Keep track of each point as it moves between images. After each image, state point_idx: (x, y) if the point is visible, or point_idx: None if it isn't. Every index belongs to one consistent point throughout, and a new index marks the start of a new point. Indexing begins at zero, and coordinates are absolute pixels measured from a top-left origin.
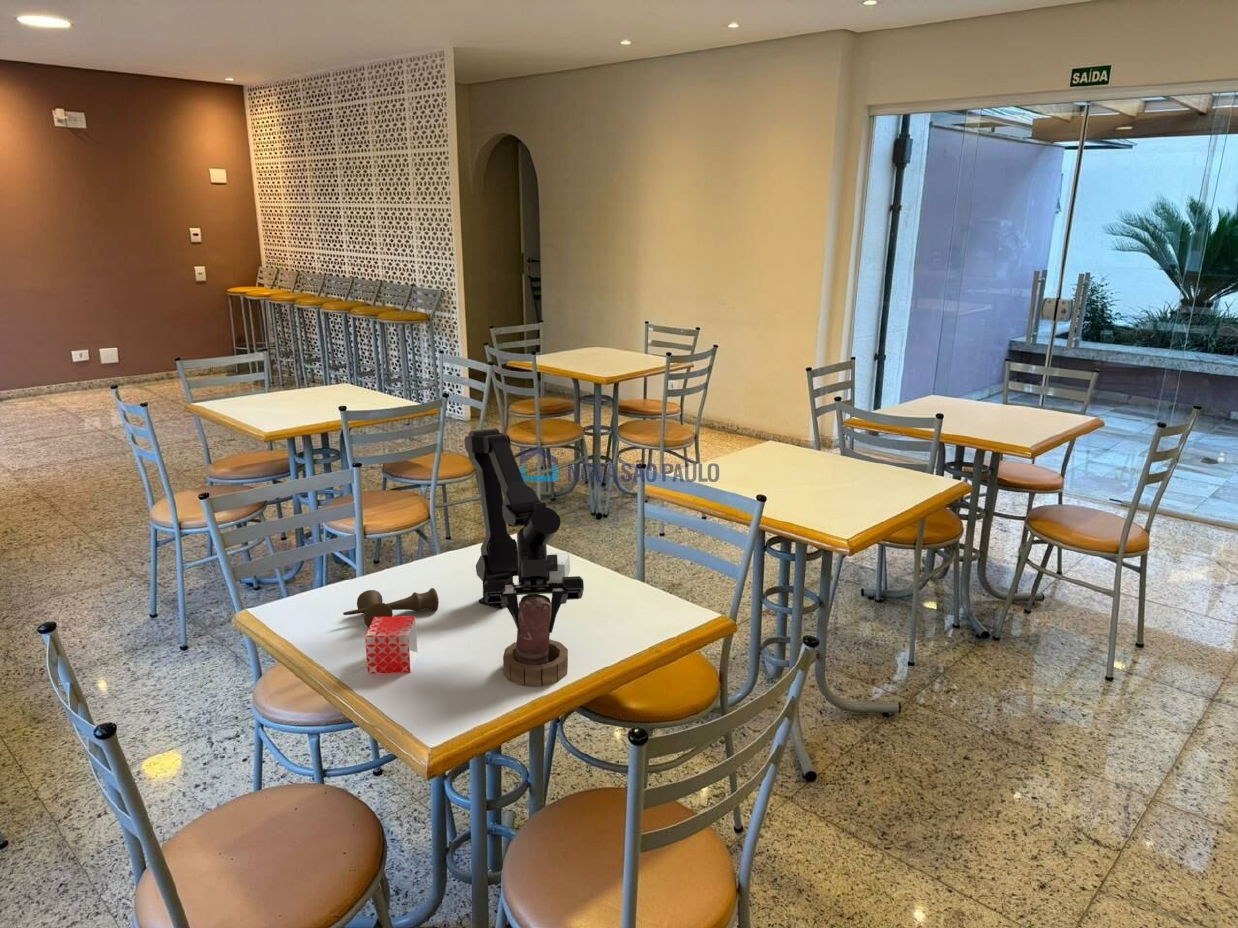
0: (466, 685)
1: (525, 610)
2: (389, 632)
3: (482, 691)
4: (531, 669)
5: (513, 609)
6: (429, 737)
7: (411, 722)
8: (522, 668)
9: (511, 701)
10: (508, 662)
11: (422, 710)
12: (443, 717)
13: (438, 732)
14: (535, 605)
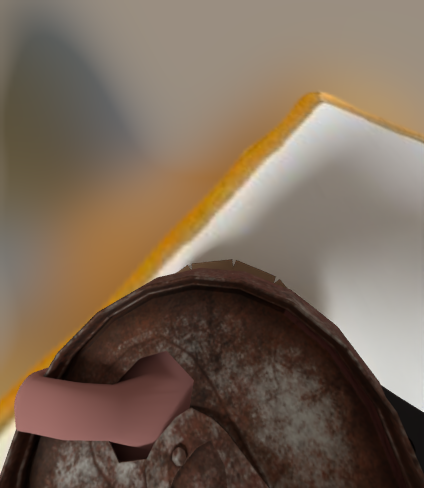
0: (356, 258)
1: (271, 283)
2: None
3: (312, 240)
4: (215, 261)
5: (409, 413)
6: (337, 118)
7: (387, 142)
8: (239, 261)
9: (244, 216)
10: (285, 287)
11: (391, 171)
12: (343, 159)
13: (330, 128)
14: (182, 344)
